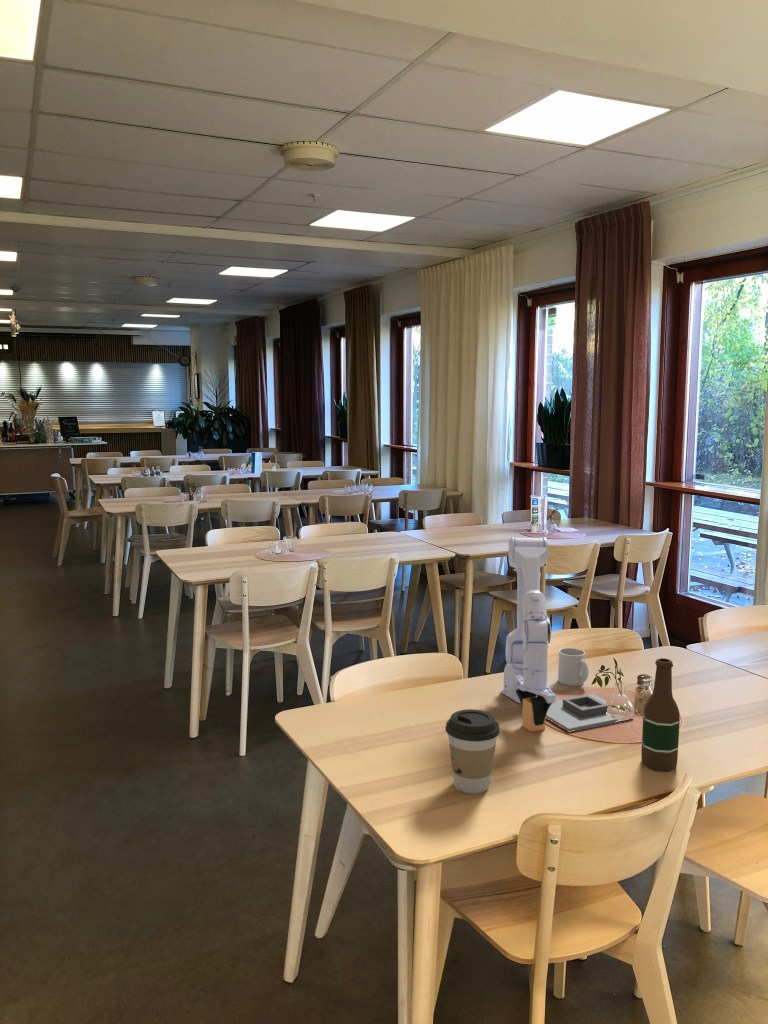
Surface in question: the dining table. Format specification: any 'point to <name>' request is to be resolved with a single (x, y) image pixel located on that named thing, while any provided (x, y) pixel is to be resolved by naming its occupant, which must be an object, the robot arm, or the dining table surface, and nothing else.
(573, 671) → the cup
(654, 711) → the beer bottle
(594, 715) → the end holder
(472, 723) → the coffee cup
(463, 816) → the dining table surface
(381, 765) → the dining table surface
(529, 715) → the orange rectangular block
